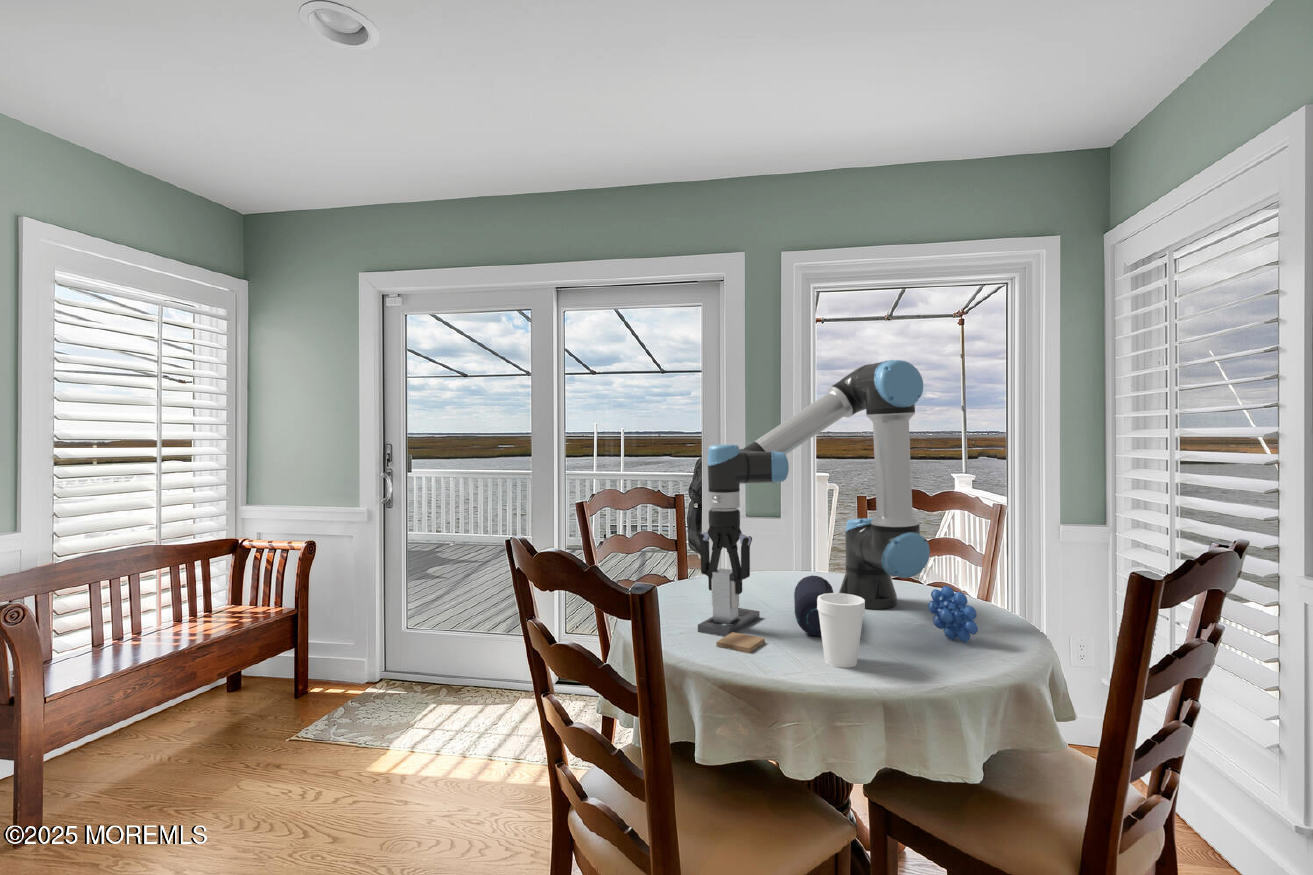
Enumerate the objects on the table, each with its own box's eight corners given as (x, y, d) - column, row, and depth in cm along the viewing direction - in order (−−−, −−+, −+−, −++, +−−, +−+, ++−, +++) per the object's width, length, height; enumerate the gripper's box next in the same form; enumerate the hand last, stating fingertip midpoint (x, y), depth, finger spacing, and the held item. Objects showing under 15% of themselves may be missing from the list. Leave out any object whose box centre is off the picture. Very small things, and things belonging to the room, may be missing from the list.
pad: (764, 642, 146) (764, 637, 146) (749, 652, 139) (749, 648, 139) (732, 636, 150) (732, 631, 150) (716, 646, 143) (716, 641, 143)
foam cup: (811, 654, 138) (811, 593, 138) (853, 653, 139) (853, 592, 139) (826, 671, 129) (826, 605, 128) (872, 669, 129) (872, 604, 129)
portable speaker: (840, 641, 147) (840, 597, 146) (795, 639, 149) (795, 595, 148) (832, 610, 171) (832, 572, 171) (794, 608, 173) (794, 571, 173)
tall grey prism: (738, 619, 158) (737, 570, 157) (730, 624, 154) (729, 574, 153) (721, 616, 160) (720, 568, 160) (713, 621, 156) (712, 571, 156)
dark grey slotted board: (759, 617, 165) (759, 610, 165) (728, 637, 150) (728, 629, 150) (730, 612, 169) (730, 606, 169) (697, 631, 154) (697, 624, 154)
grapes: (917, 636, 149) (917, 584, 149) (934, 631, 153) (934, 580, 153) (966, 650, 140) (967, 595, 140) (983, 644, 144) (983, 590, 144)
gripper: (684, 508, 158) (686, 604, 158) (751, 513, 148) (752, 614, 149) (699, 505, 164) (700, 597, 165) (764, 509, 155) (765, 606, 155)
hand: (725, 605), depth 157 cm, fingers closed on tall grey prism, 4 cm apart
